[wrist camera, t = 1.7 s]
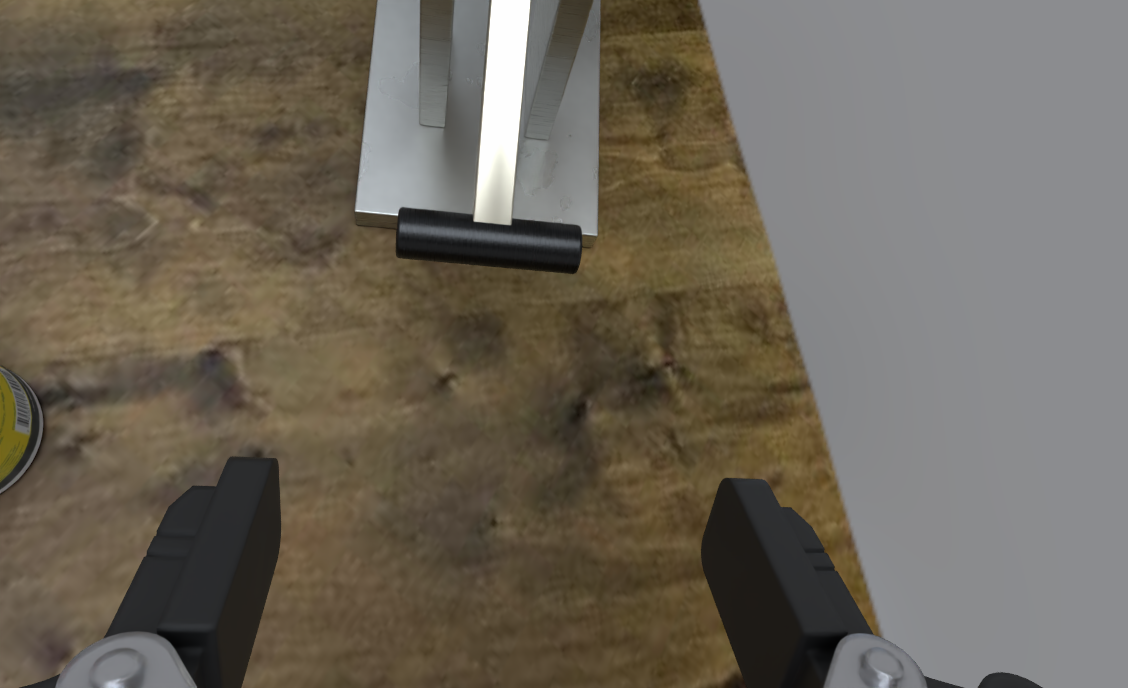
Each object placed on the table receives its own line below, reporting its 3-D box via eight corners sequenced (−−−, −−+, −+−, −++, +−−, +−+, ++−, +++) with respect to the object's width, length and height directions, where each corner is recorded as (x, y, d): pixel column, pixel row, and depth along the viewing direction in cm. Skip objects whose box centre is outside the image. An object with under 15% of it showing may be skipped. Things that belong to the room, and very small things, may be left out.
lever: (568, 271, 23) (582, 277, 21) (398, 255, 23) (393, 260, 20) (611, -151, 22) (631, -195, 19) (427, -186, 21) (425, -237, 18)
